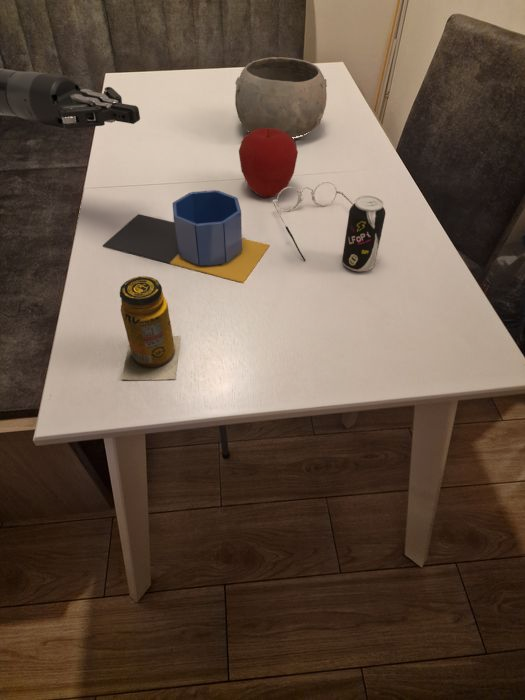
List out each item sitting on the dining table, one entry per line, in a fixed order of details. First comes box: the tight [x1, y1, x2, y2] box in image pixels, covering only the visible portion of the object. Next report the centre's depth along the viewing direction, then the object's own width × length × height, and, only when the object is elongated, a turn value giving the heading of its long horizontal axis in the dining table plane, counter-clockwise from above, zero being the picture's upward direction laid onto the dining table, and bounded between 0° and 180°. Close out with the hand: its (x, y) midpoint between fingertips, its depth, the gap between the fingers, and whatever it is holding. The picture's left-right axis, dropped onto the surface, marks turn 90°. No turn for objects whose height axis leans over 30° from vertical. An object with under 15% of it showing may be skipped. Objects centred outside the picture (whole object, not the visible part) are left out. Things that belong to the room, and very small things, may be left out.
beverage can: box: [341, 195, 386, 273], centre depth 81 cm, size 6×6×12 cm
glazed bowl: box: [172, 189, 243, 266], centre depth 84 cm, size 11×11×8 cm
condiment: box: [119, 275, 181, 381], centre depth 64 cm, size 7×8×12 cm
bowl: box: [234, 56, 328, 141], centre depth 120 cm, size 23×23×15 cm
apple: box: [238, 128, 299, 198], centre depth 98 cm, size 12×12×13 cm
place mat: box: [102, 213, 271, 284], centre depth 88 cm, size 28×12×1 cm, turn 68°
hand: (136, 115), depth 74 cm, fingers closed
